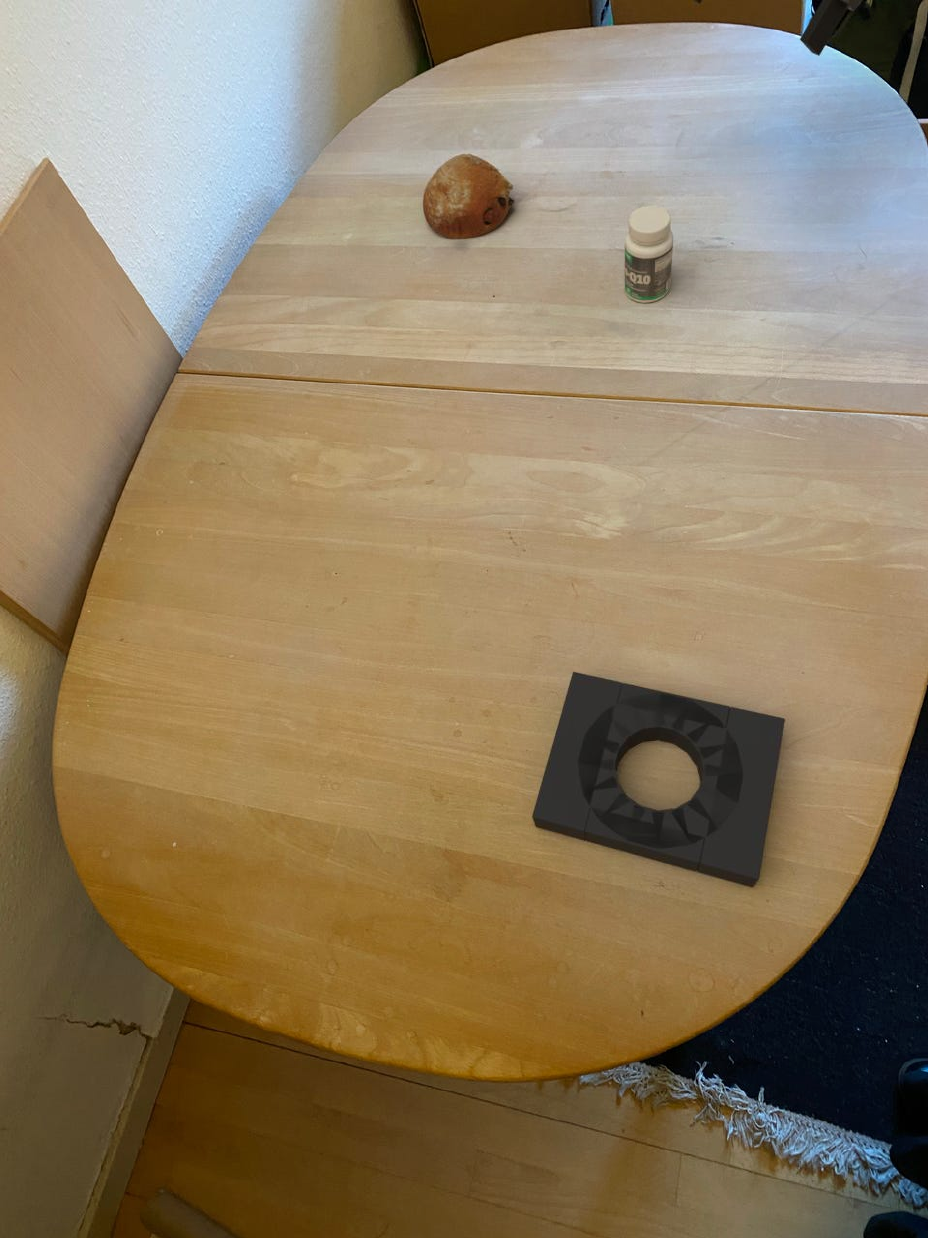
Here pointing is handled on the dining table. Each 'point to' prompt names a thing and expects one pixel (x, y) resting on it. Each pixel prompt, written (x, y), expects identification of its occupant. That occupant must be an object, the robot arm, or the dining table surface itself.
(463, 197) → the bread roll
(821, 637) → the dining table surface
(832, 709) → the dining table surface
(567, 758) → the black rectangular holder
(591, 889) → the dining table surface
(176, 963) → the dining table surface
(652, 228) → the pill bottle
